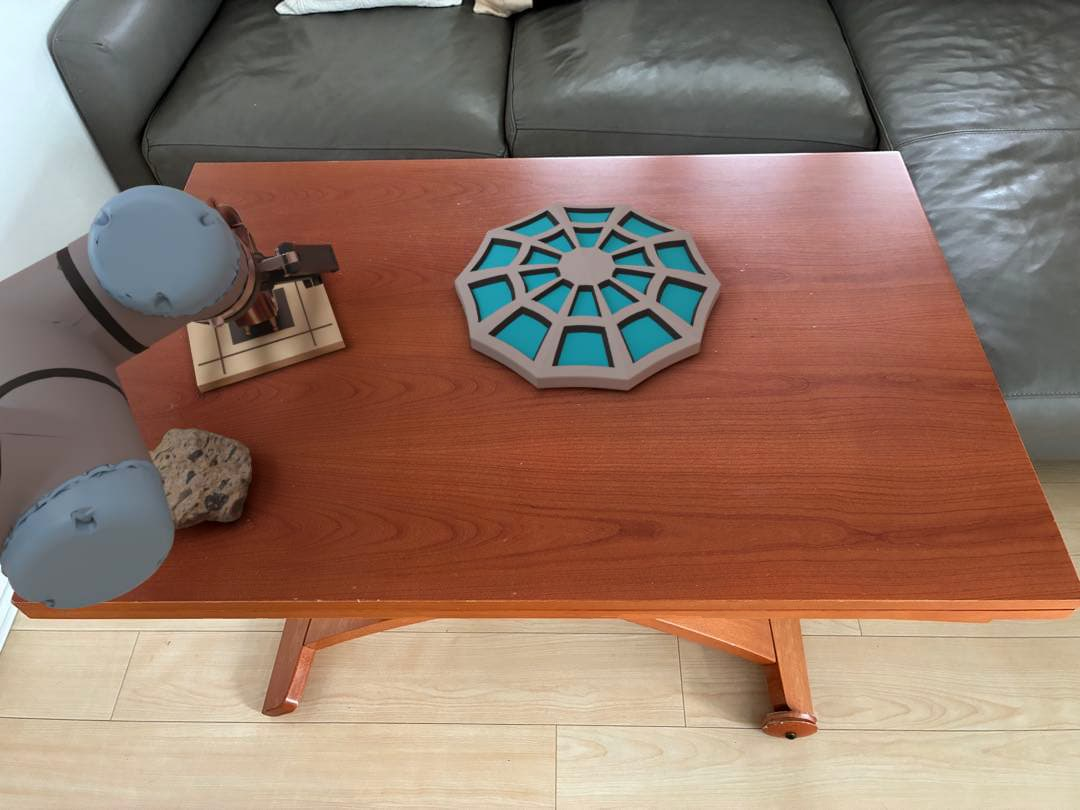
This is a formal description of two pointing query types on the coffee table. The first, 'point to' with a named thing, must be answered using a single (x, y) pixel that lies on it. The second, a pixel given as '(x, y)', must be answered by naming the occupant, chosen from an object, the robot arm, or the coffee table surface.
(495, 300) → the decorative platform
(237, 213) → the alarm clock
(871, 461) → the coffee table surface
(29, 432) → the robot arm
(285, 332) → the game board
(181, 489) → the rock
